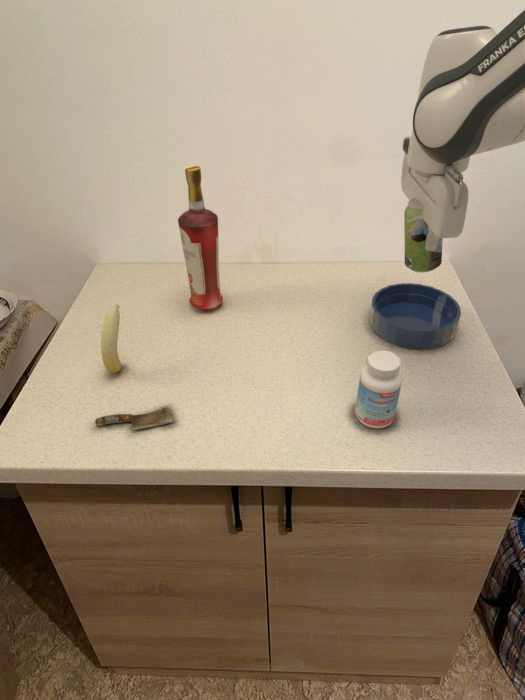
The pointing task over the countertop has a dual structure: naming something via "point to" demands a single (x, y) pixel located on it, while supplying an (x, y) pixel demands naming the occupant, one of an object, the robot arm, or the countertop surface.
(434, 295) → the bowl
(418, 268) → the beverage can
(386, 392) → the pill bottle
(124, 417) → the meat cleaver
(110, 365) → the fruit
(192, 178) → the liquor
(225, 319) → the countertop surface
